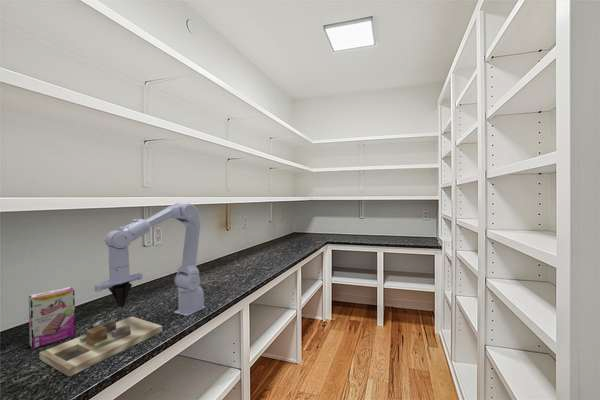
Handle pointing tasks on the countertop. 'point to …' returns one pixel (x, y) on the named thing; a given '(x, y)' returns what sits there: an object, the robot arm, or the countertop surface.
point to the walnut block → (96, 335)
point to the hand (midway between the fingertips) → (121, 306)
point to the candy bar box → (51, 316)
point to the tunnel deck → (99, 345)
